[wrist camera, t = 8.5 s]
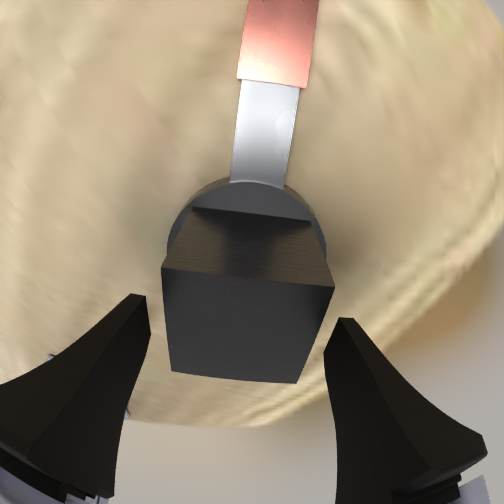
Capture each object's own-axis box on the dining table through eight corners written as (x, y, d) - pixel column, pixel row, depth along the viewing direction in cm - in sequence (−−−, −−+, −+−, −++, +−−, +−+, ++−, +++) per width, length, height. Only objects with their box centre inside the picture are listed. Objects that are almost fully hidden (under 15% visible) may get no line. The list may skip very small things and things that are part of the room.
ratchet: (302, 309, 18) (311, 366, 14) (175, 295, 17) (156, 349, 13) (368, -16, 8) (407, -47, 4) (204, -41, 7) (184, -84, 4)
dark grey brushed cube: (288, 309, 16) (296, 383, 11) (191, 298, 15) (171, 371, 11) (310, 220, 13) (335, 286, 9) (192, 206, 13) (160, 267, 8)
